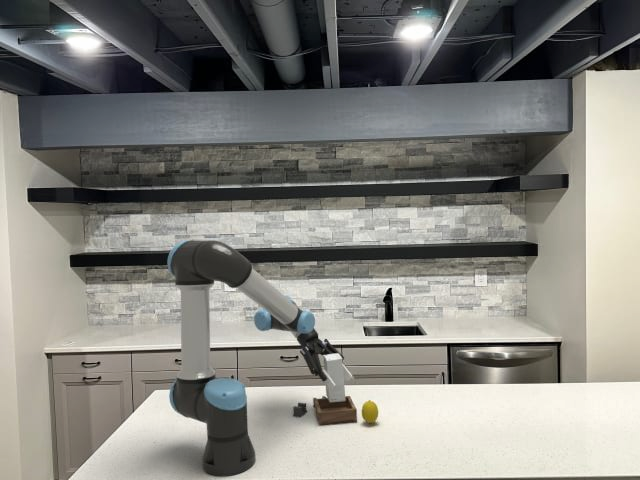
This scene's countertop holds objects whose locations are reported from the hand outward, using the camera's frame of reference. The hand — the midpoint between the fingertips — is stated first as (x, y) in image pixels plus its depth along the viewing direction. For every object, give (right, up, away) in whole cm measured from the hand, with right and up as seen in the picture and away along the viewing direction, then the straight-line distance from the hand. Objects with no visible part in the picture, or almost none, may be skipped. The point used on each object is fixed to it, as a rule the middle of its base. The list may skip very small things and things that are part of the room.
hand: (341, 383), depth 171 cm
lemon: (+9, -12, -5) cm, 16 cm away
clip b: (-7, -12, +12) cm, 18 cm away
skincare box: (-2, -6, +2) cm, 7 cm away
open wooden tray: (-2, -12, +2) cm, 13 cm away
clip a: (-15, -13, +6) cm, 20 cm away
